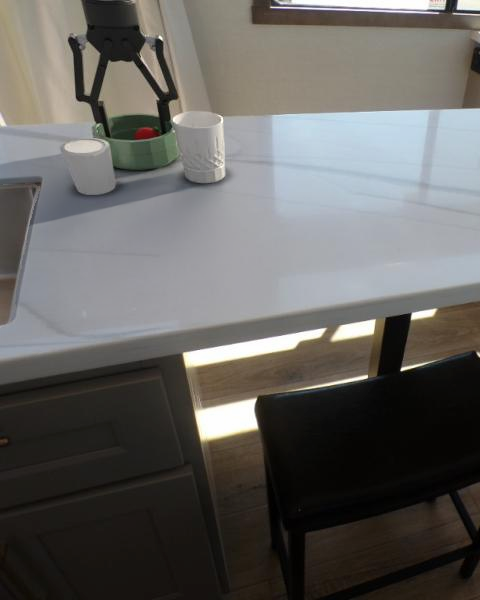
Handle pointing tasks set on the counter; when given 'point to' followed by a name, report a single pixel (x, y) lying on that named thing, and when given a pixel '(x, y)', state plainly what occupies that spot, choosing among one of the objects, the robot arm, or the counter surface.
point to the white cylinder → (90, 165)
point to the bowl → (138, 142)
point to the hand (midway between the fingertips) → (138, 139)
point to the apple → (147, 133)
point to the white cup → (201, 145)
